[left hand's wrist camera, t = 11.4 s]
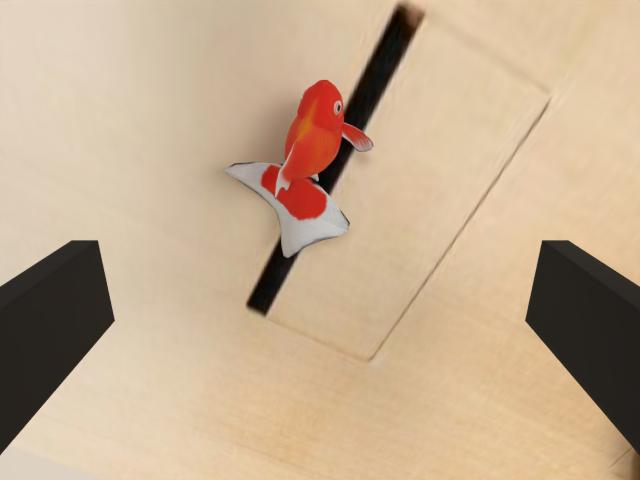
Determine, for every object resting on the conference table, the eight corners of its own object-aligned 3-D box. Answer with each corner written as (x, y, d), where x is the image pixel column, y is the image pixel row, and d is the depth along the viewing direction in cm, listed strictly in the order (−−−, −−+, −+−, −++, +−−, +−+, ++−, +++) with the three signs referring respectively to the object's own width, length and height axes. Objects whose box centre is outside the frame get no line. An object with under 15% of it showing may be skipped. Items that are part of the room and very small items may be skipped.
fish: (433, 138, 32) (383, 183, 25) (335, 247, 43) (280, 301, 36) (334, 49, 33) (258, 68, 26) (262, 178, 44) (194, 217, 37)
